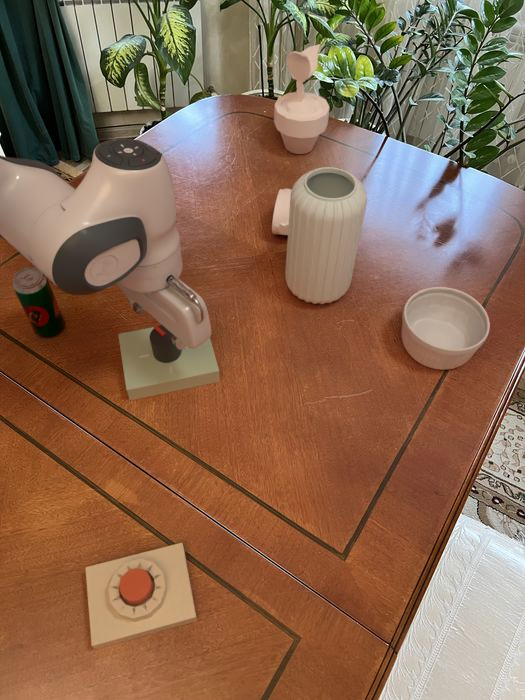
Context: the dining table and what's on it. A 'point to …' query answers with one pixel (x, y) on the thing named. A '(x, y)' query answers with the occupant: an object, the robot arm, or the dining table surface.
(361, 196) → the vase
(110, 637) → the button box
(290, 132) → the potted plant
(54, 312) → the soda can
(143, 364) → the panel
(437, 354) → the ramekin
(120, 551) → the dining table surface
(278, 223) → the soap bar
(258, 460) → the dining table surface
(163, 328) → the knob
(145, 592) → the button
